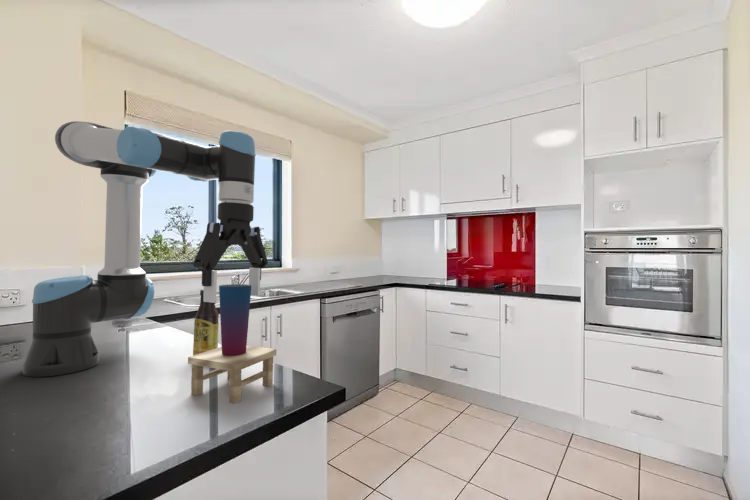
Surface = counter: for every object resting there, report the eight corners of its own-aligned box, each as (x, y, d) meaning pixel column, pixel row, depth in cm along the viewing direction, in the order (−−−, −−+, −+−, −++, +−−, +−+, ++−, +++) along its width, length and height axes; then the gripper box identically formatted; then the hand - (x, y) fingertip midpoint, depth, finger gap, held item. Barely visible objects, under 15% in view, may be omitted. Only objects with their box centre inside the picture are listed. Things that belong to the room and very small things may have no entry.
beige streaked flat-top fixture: (187, 394, 79) (188, 357, 79) (232, 376, 91) (232, 343, 91) (235, 404, 74) (236, 364, 74) (275, 383, 86) (276, 349, 86)
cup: (239, 357, 79) (240, 286, 79) (210, 355, 80) (212, 286, 80) (255, 350, 85) (257, 284, 86) (229, 348, 87) (230, 284, 87)
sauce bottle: (187, 361, 102) (188, 289, 102) (205, 355, 108) (206, 287, 108) (205, 364, 100) (206, 290, 100) (223, 358, 106) (224, 288, 106)
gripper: (203, 194, 70) (201, 307, 70) (283, 209, 93) (281, 293, 93) (175, 195, 73) (172, 304, 73) (259, 209, 96) (257, 291, 96)
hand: (233, 298), depth 83 cm, fingers open, 13 cm apart
